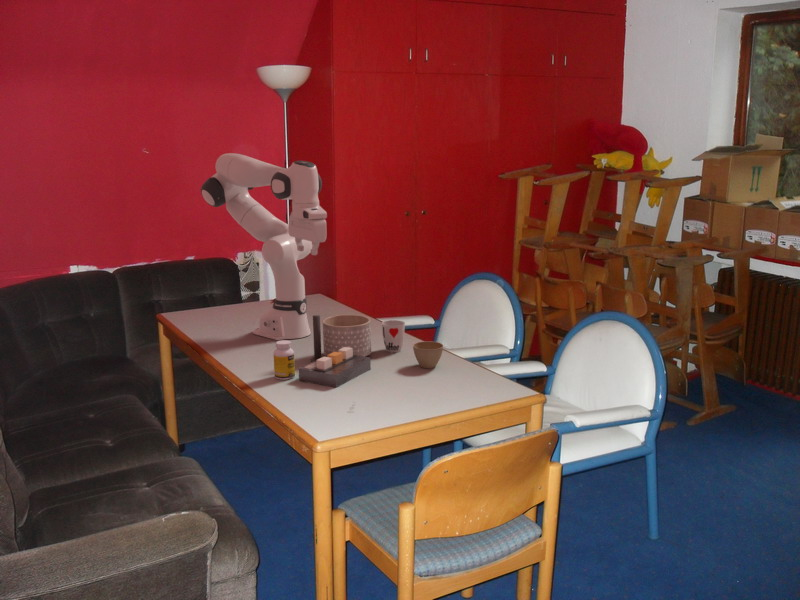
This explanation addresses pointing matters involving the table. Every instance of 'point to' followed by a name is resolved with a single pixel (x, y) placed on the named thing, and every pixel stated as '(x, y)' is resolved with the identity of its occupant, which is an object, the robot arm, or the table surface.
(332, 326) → the planter
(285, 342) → the pill bottle
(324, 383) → the dark grey slotted tray
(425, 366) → the flower pot
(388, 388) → the table surface
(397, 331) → the cup
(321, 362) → the light pink block
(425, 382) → the table surface
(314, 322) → the post
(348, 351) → the pale pink brick
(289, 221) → the robot arm
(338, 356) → the orange block
